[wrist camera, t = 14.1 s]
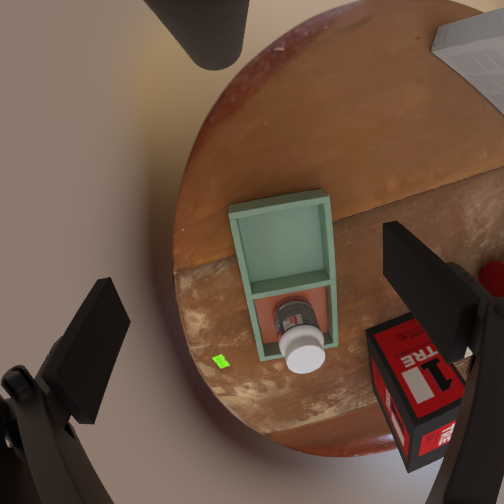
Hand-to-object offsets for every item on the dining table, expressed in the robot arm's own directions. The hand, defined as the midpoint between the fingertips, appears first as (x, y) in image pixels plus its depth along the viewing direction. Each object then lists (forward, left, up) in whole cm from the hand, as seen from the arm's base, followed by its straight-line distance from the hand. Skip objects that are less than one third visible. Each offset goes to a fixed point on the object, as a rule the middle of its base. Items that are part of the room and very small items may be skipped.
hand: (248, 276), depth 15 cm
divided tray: (+15, +4, -25) cm, 29 cm away
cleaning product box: (+35, +21, -25) cm, 48 cm away
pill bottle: (+20, +4, -25) cm, 32 cm away
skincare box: (-11, +38, -25) cm, 47 cm away
